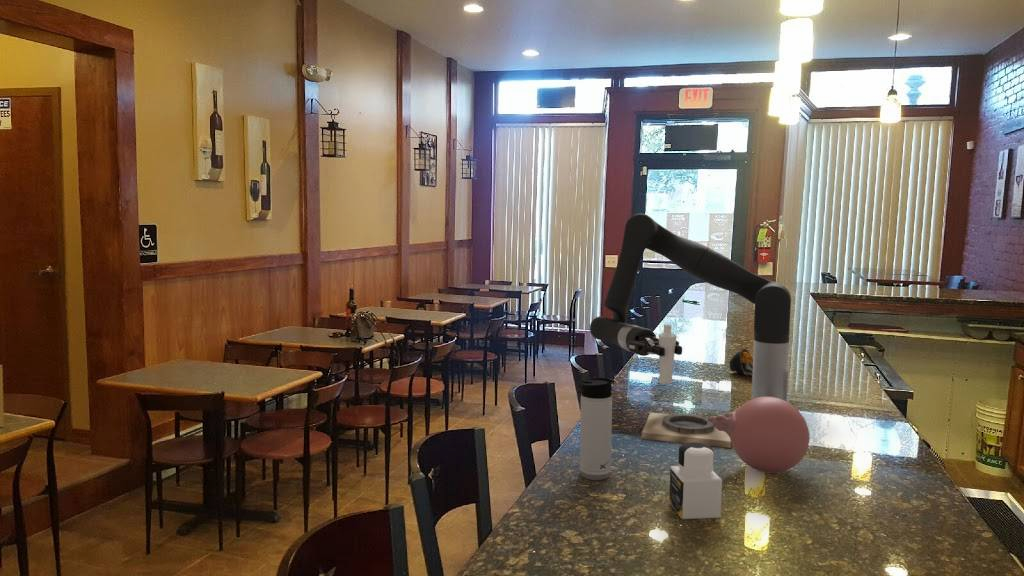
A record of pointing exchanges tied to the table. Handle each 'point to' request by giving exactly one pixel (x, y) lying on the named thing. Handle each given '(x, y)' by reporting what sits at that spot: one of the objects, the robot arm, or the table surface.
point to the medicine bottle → (695, 483)
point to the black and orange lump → (742, 363)
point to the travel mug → (596, 428)
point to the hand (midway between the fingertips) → (672, 351)
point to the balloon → (766, 433)
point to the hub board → (684, 429)
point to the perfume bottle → (667, 354)
